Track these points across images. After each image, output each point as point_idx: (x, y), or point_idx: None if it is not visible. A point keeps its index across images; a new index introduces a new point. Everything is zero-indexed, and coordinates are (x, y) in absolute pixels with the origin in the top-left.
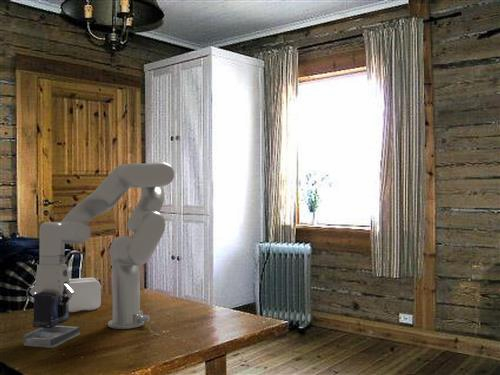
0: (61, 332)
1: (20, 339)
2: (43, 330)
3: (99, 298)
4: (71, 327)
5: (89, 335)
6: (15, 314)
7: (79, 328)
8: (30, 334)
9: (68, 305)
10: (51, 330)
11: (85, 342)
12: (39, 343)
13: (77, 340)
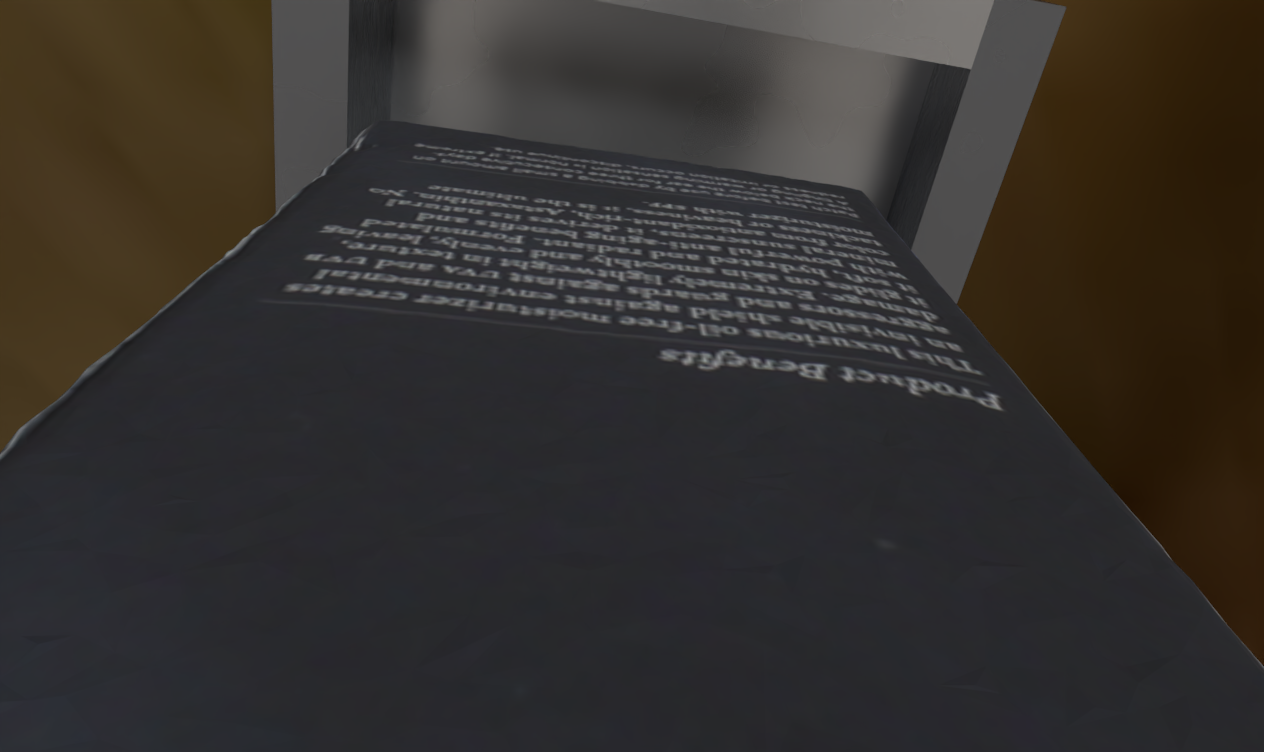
0: (638, 58)
1: (70, 340)
2: None
3: None
4: (870, 44)
5: (1218, 50)
6: None
7: (1050, 11)
8: None
9: (1030, 402)
10: (388, 11)
11: (1187, 434)
12: None
13: (1039, 349)
